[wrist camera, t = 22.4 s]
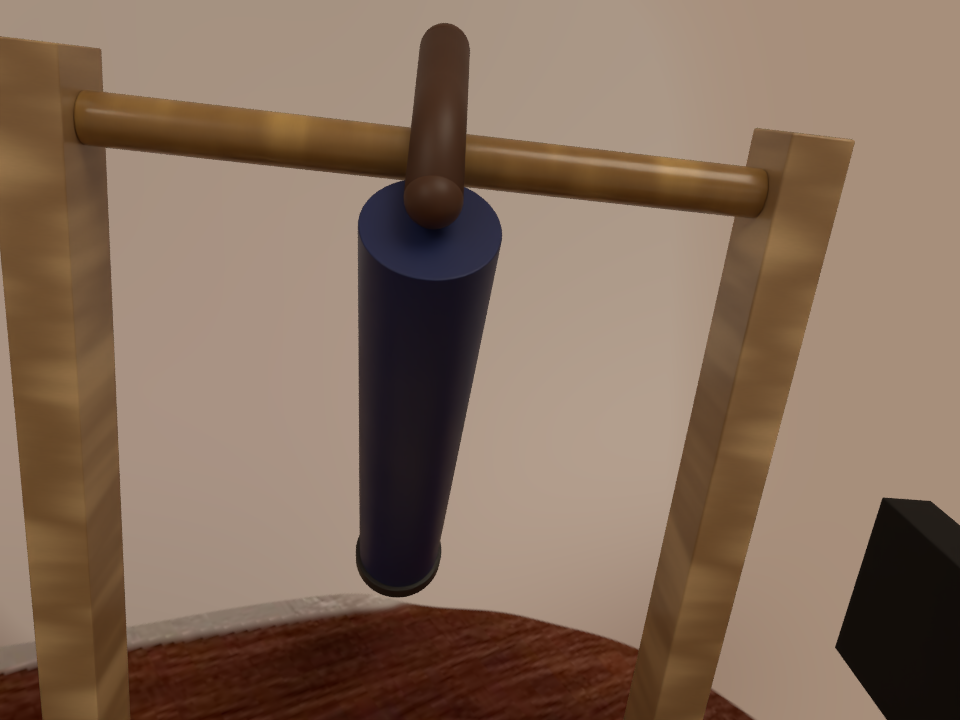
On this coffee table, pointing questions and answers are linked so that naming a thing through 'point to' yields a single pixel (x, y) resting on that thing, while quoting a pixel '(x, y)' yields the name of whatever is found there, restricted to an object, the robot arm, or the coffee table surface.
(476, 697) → the coffee table surface
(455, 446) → the umbrella
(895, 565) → the robot arm
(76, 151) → the rack
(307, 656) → the coffee table surface
